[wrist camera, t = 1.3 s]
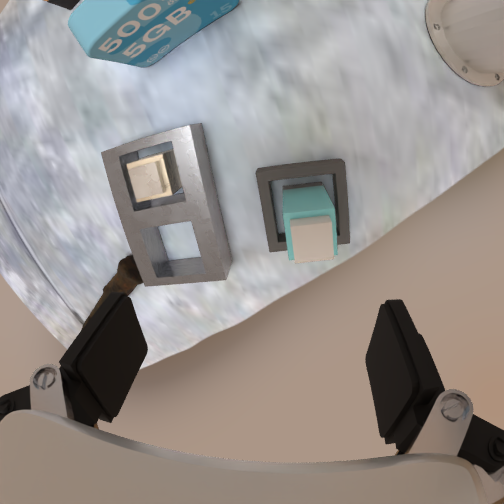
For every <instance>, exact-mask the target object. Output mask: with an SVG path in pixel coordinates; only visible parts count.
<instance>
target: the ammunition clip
mask: <svg viewBox="0 0 504 504" xmlns="http://www.w3.org/2000/svg"><path fill="white" fill-rule="evenodd" d="M44 1H47V2H49V3H52V4H55V5H58V6H61V7H64V8H67V9H69V10H71V9H73V7H74V6H75V5H76V4H77V3H78V2H79V1H80V0H44Z"/></svg>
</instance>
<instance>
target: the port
mask: <svg viewBox="0 0 504 504" xmlns="http://www.w3.org/2000/svg"><path fill="white" fill-rule="evenodd" d="M168 141H172V145H173V149H172V150H168V151H164V152H160V153H156V154H153V155H149V156H146V157H143V158H141V159H139V158H138V154H137V150H140V149H144V148H147V147H150V146H154V145H157V144H161V143H165V142H168ZM101 154H102V158H103V162H104V166H105V169H106V173H107V177H108V180H109V184H110V187H111V191H112V194H113V197H114V201H115V204H116V207H117V210H118V214H119V217H120V220H121V223H122V226H123V229H124V232H125V235H126V237H127V240H128V243H129V246H130V249H131V251H132V254H133V257H134V259H135V262H136V265H137V267H138V270H139V272H140V275H141V278H142V280H143V283H144V285H145V286H158V285H171V284H184V283H196V282H208V281H219V280H226V279H227V276H228V273H229V270H230V267H231V264H232V257H231V253H230V249H229V245H228V240H227V236H226V232H225V227H224V223H223V219H222V214H221V210H220V205H219V201H218V197H217V192H216V188H215V183H214V179H213V174H212V169H211V165H210V160H209V156H208V151H207V146H206V142H205V137H204V132H203V127H202V123H199V124H193V125H188V126H184V127H180V128H176V129H173V130H169V131H165V132H162V133H158V134H155V135H152V136H148V137H145V138H142V139H139V140H136V141H132V142H129V143H126V144H123V145H121V146H118V147H115V148H112V149H109V150H106V151H104V152H101ZM182 187H183V191H184V193H180V194H175V195H173V194H174V193H175V192H177V191H178V190H179V189H180V188H182ZM169 195H170V196H169ZM164 196H165V197H164ZM160 197H161V198H160ZM155 198H156V199H155ZM150 199H151V200H150ZM186 221H192V225H193V229H194V233H195V236H196V240H197V243H198V247H199V251H200V254H201V257H198V258H189V259H180V260H171V261H169V260H168V257H167V254H166V251H165V248H164V245H163V242H162V239H161V236H160V233H159V229H158V226H162V225H168V224H174V223H180V222H186Z"/></svg>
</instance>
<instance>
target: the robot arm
mask: <svg viewBox="0 0 504 504" xmlns="http://www.w3.org/2000/svg"><path fill="white" fill-rule="evenodd" d="M425 13H426V23H427V27H428V31H429V34H430V36H431V39H432V41H433V43H434V45H435V47H436V49H437V50H438V52H439V53H440V55H441V56H442V58H443V59H444V60H445V62H446V63H447V64H448V65H449V66H450V67H451V68H452V69H453V70H454V71H455V72H456V73H457V74H458V75H459V76H461V77H462V78H463V79H465V80H467V81H468V82H470V83H472V84H475V85H478V86H494V85H497V84H499V83H500V82H501V81H502V80H503V79H504V0H429V1H428V3H427V6H426V12H425ZM147 351H148V347H147V343H146V341H145V338H144V335H143V333H142V330H141V327H140V324H139V321H138V319H137V316H136V313H135V310H134V307H133V304H132V301H131V298H130V297H128V296H127V294H126V293H120V292H111V293H110V294H109V296H108V297H107V298H106V299H105V301H104V302H103V303H102V304H101V306H100V307H99V308H98V309H97V311H96V312H95V313H94V315H93V316H92V317H91V319H90V320H89V321H88V322H87V324H86V325H85V326H84V328H83V329H82V330H81V332H80V333H79V335H78V336H77V337H76V339H75V340H74V341H73V343H72V344H71V345H70V347H69V348H68V350H67V351H66V353H65V354H64V356H63V357H62V358H61V360H60V361H59V363H60V365H61V367H60V368H58V367H57V366H55V365H53V364H46V365H43V366H41V367H39V368H38V369H36V370H35V371H34V373H33V374H32V376H31V378H30V385H29V386H26V387H24V388H21V389H19V390H16V391H13V392H11V393H8V394H5V395H3V396H2V397H0V504H504V430H502V429H500V428H498V427H496V426H494V425H492V424H491V423H489V422H487V421H485V420H483V419H481V418H479V417H477V416H476V415H474V414H473V404H472V402H471V400H470V398H469V397H468V396H467V395H466V394H465V393H463V392H462V391H459V390H456V389H450V390H446V391H445V388H444V386H443V384H442V381H441V378H440V376H439V373H438V371H437V368H436V366H435V364H434V361H433V359H432V356H431V354H430V352H429V349H428V347H427V345H426V343H425V340H424V338H423V337H422V335H421V334H418V332H417V330H416V328H415V325H414V323H413V321H412V319H411V317H410V315H409V313H408V311H407V309H406V307H405V305H404V303H403V301H402V300H400V299H399V300H387V301H386V302H385V304H381V306H380V309H379V313H378V316H377V320H376V324H375V327H374V331H373V334H372V338H371V341H370V345H369V348H368V351H367V354H366V367H367V372H368V376H369V380H370V385H371V390H372V395H373V400H374V405H375V410H376V416H377V421H378V428H379V433H380V436H381V437H382V438H383V437H384V438H385V443H386V444H391V443H396V449H398V451H397V452H396V454H395V455H394V456H386V457H378V458H370V459H361V460H351V461H335V462H316V463H276V462H256V461H244V460H232V459H224V458H216V457H209V456H203V455H197V454H191V453H185V452H180V451H175V450H170V449H166V448H161V447H157V446H153V445H149V444H145V443H141V442H137V441H134V440H130V439H127V438H124V437H120V436H117V435H114V434H111V433H108V432H104V431H102V430H99V428H98V425H97V421H98V419H100V420H103V421H106V422H110V423H111V422H112V420H113V418H114V417H116V416H117V415H118V413H119V411H120V409H121V407H122V405H123V403H124V400H125V398H126V396H127V394H128V392H129V390H130V388H131V385H132V383H133V381H134V379H135V377H136V375H137V373H138V371H139V369H140V367H141V365H142V363H143V361H144V359H145V357H146V355H147Z"/></svg>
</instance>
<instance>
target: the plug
mask: <svg viewBox="0 0 504 504" xmlns="http://www.w3.org/2000/svg"><path fill="white" fill-rule="evenodd" d="M283 221H284V228H285V235H286V242H287V249H288V256H289V260H295V263H304V262H313V261H321V260H330V259H334V255H338V252H337V233H336V218H335V208H334V206H333V204H332V202H331V200H330V198H329V196H328V194H327V192H326V190H325V188H324V186H323V184H322V182H314V183H306V184H297V185H289V186H283Z"/></svg>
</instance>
